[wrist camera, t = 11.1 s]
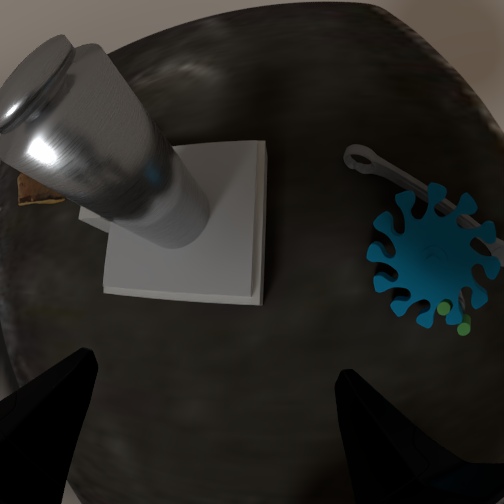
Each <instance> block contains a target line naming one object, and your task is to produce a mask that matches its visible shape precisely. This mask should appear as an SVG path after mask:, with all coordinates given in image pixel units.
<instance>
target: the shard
mask: <svg viewBox="0 0 504 504" xmlns="http://www.w3.org/2000/svg"><path fill="white" fill-rule="evenodd" d="M18 188H19V200H18V205H20V206H21V205H26V204H32V203H40V204H42V203H57V202H61V201H64V200H66V199H65V197H64V196H62V195H61V194H59V193H57V192H55V191H54V190H52V189H50V188H48V187H46V186H45V185H43V184H41V183H39V182H38V181H36V180H34V179H32V178H31V177H29V176H27V175H25V174H24V173H22V172H21V174H20V175H19V177H18Z"/></svg>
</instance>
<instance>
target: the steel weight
mask: <svg viewBox="0 0 504 504" xmlns="http://www.w3.org/2000/svg"><path fill="white" fill-rule="evenodd" d="M0 133H1V137H0V158H1V160H2V161H4V162H5V163H7V164H9V165H10V166H12V167H14V168H15V169H17V170H19V171H20V172H22V173H24V174H25V175H27V176H29V177H31V178H32V179H34V180H36V181H38V182H39V183H41V184H43V185H45V186H46V187H48V188H50V189H52V190H54V191H55V192H57V193H59V194H61V195H62V196H64V197H66V198H68V199H70V200H72V201H73V202H75V203H77V204H79V205H81V206H83V207H84V208H86V209H88V210H90V211H92V212H94V213H96V214H98V215H99V216H101V217H103V218H105V219H107V220H109V221H111V222H113V223H115V224H117V225H118V226H120V227H122V228H124V229H126V230H128V231H130V232H132V233H134V234H136V235H138V236H140V237H142V238H144V239H146V240H148V241H150V242H152V243H154V244H156V245H158V246H160V247H162V248H166V249H178V248H182V247H184V246H187V245H189V244H190V243H192V242H193V241H194V240H196V239H197V238H198V237H199V236H200V235H201V233H202V232H203V230H204V229H205V227H206V225H207V222H208V219H209V214H210V206H209V201H208V198H207V196H206V194H205V192H204V191H203V189H202V188H201V187H200V185H199V184H198V182H197V181H196V180H195V178H194V177H193V175H192V174H191V173H190V171H189V170H188V168H187V167H186V166H185V164H184V163H183V161H182V160H181V159H180V157H179V156H178V154H177V153H176V152H175V150H174V149H173V147H172V146H171V145H170V143H169V142H168V140H167V139H166V138H165V136H164V135H163V133H162V132H161V131H160V129H159V128H158V126H157V125H156V124H155V122H154V121H153V119H152V118H151V117H150V115H149V114H148V112H147V111H146V109H145V108H144V107H143V105H142V104H141V102H140V101H139V100H138V98H137V97H136V95H135V94H134V93H133V91H132V90H131V88H130V87H129V86H128V84H127V83H126V81H125V80H124V78H123V77H122V76H121V74H120V73H119V71H118V70H117V69H116V67H115V66H114V64H113V63H112V61H111V60H110V59H109V57H108V56H107V54H106V53H105V52H104V50H103V49H102V47H101V46H99V45H98V44H86V45H82V46H80V47H77V48H74V47H73V46H72V44H71V43H70V42H69V41H68V39H67V38H66V37H65V35H57V36H55V37H53V38H51V39H49V40H48V41H46V42H45V43H43V44H42V45H40V46H39V47H38V48H36V49H35V50H34V51H33V52H32V53H31V54H29V55H28V56H27V57H26V58H25V59H24V60H23V61H22V62H21V63H20V64H19V65H18V67H17V68H16V69H15V70H14V71H13V72H12V74H11V75H10V76H9V77H8V79H7V80H6V81H5V83H4V84H3V86H2V87H1V89H0Z"/></svg>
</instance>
